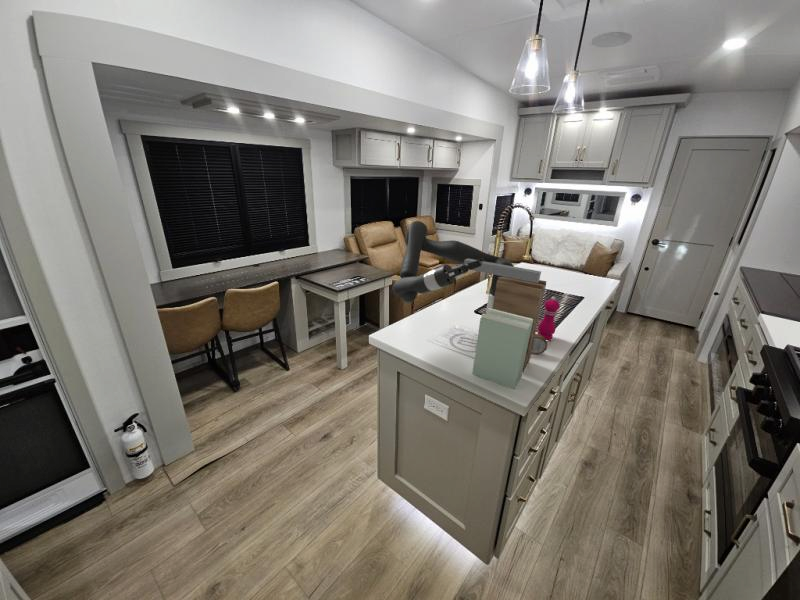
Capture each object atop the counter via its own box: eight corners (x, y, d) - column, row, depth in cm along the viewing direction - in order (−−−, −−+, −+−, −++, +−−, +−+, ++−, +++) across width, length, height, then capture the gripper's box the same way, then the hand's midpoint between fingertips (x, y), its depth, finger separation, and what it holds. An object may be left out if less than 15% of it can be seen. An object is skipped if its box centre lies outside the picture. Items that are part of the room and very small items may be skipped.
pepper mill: (555, 337, 145) (565, 296, 138) (550, 343, 140) (560, 300, 132) (539, 332, 149) (548, 292, 142) (533, 337, 144) (542, 296, 137)
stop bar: (466, 266, 110) (467, 258, 109) (539, 280, 98) (541, 271, 97) (463, 268, 108) (464, 259, 107) (537, 283, 96) (539, 273, 95)
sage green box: (480, 363, 121) (489, 307, 113) (521, 377, 114) (533, 318, 105) (472, 374, 114) (480, 314, 106) (514, 389, 106) (527, 327, 98)
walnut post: (491, 349, 131) (504, 272, 120) (529, 361, 124) (547, 280, 112) (484, 358, 124) (497, 277, 112) (523, 372, 117) (542, 286, 105)
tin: (544, 353, 131) (548, 335, 128) (545, 356, 128) (550, 338, 125) (506, 347, 134) (509, 329, 132) (506, 350, 132) (510, 332, 129)
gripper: (426, 272, 110) (469, 254, 99) (443, 264, 121) (484, 248, 111) (434, 292, 110) (478, 276, 100) (451, 283, 122) (492, 268, 111)
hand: (481, 262), depth 105 cm, fingers closed on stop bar, 3 cm apart
